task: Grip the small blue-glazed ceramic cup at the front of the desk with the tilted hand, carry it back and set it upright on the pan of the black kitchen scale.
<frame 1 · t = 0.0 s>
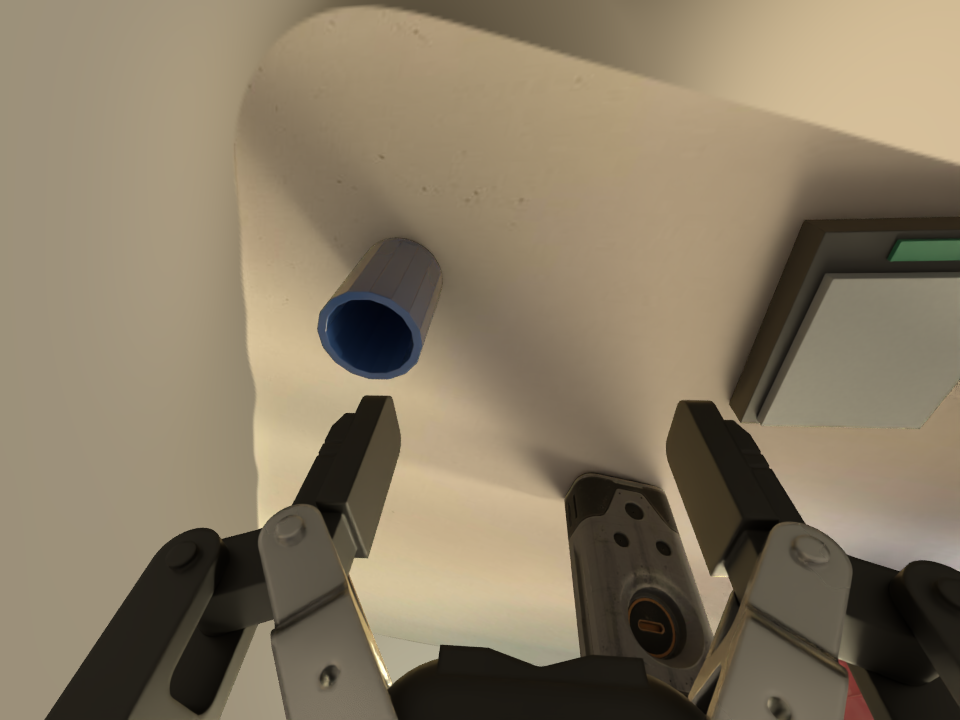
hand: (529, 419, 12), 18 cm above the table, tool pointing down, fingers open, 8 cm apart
cup: (402, 277, 29), on the table
electronic device: (613, 493, 42), on the table
flower pot: (837, 621, 54), on the table
kitchen scale: (858, 325, 29), on the table
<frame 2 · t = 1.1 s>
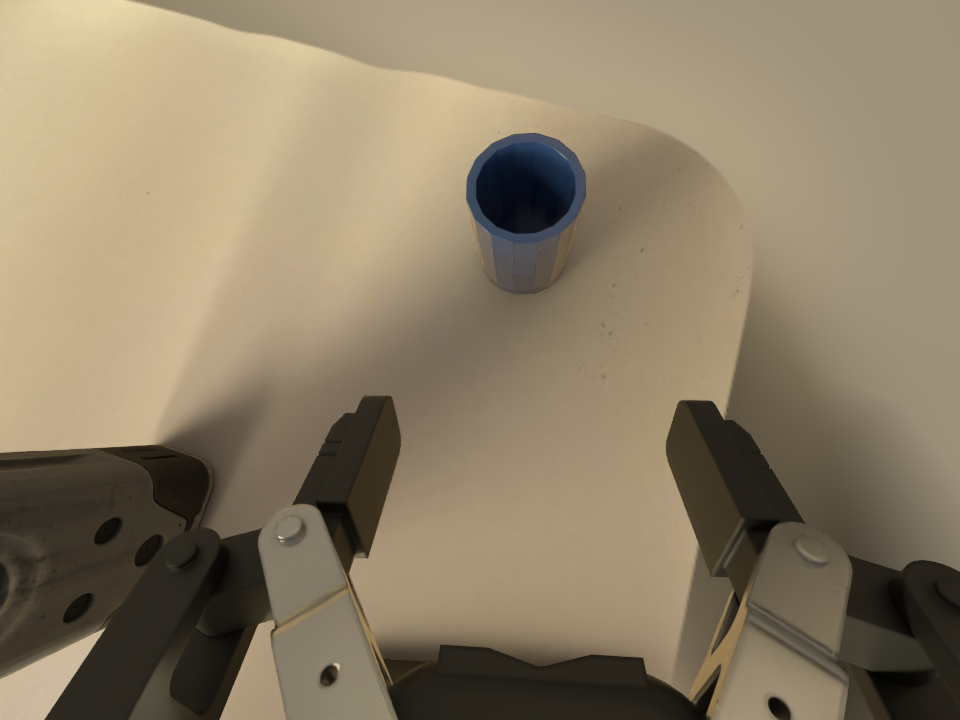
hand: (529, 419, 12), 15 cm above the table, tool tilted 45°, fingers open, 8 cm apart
cup: (523, 253, 28), on the table
electronic device: (163, 518, 28), on the table
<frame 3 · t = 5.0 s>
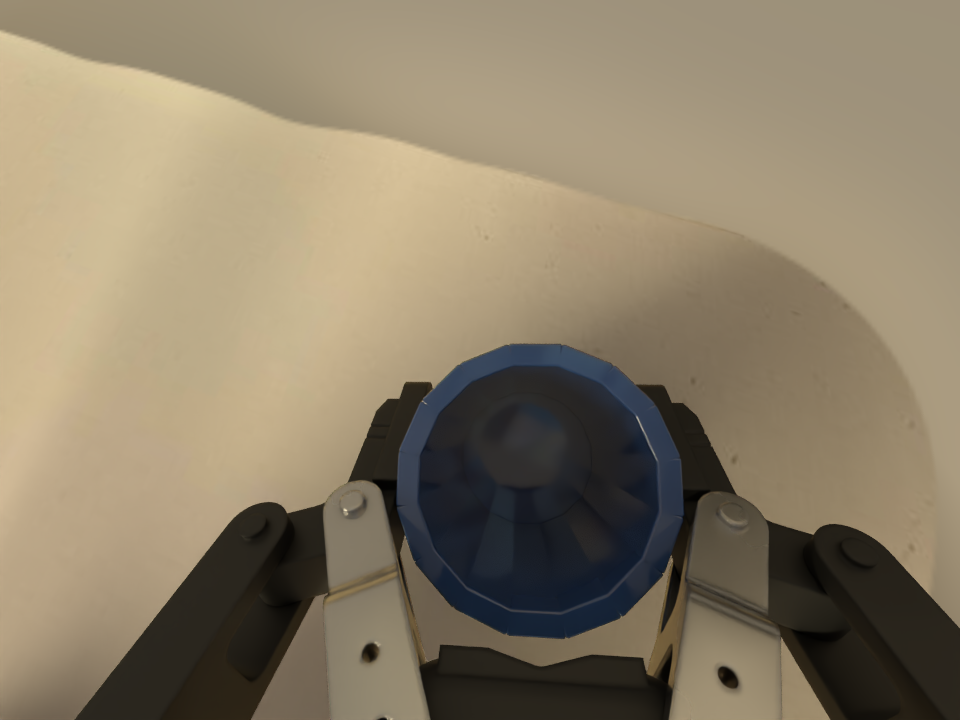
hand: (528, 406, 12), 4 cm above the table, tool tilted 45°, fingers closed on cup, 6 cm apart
cup: (526, 455, 16), on the table, touching gripper
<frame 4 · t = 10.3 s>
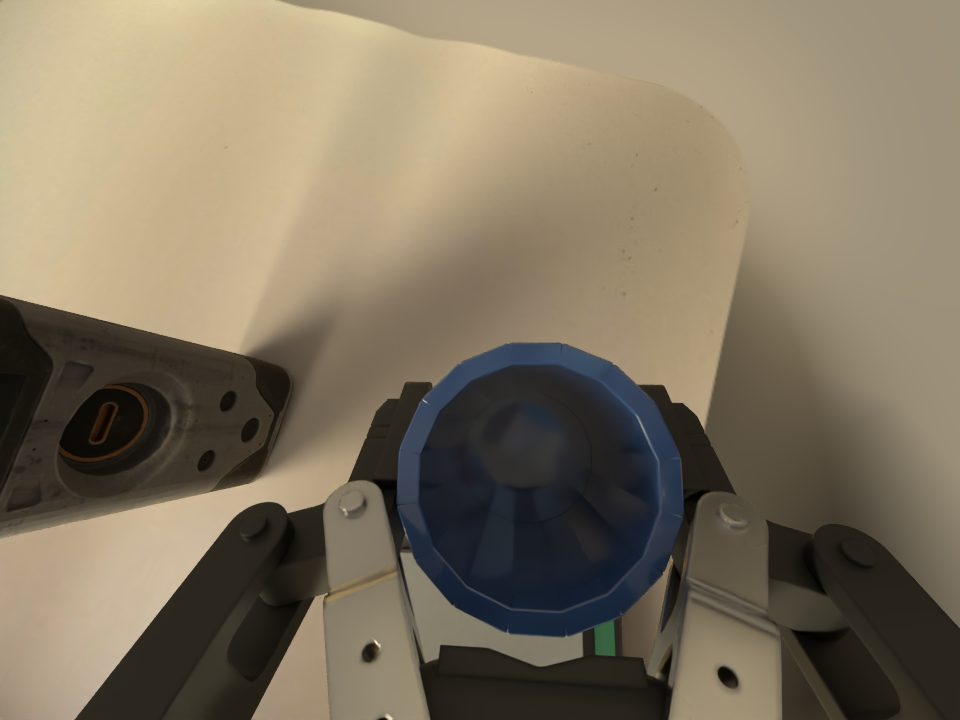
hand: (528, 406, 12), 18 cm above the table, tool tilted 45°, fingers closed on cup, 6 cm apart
cup: (526, 454, 16), point 14 cm above the table, touching gripper
electronic device: (248, 418, 33), on the table
kitchen scale: (502, 627, 28), on the table
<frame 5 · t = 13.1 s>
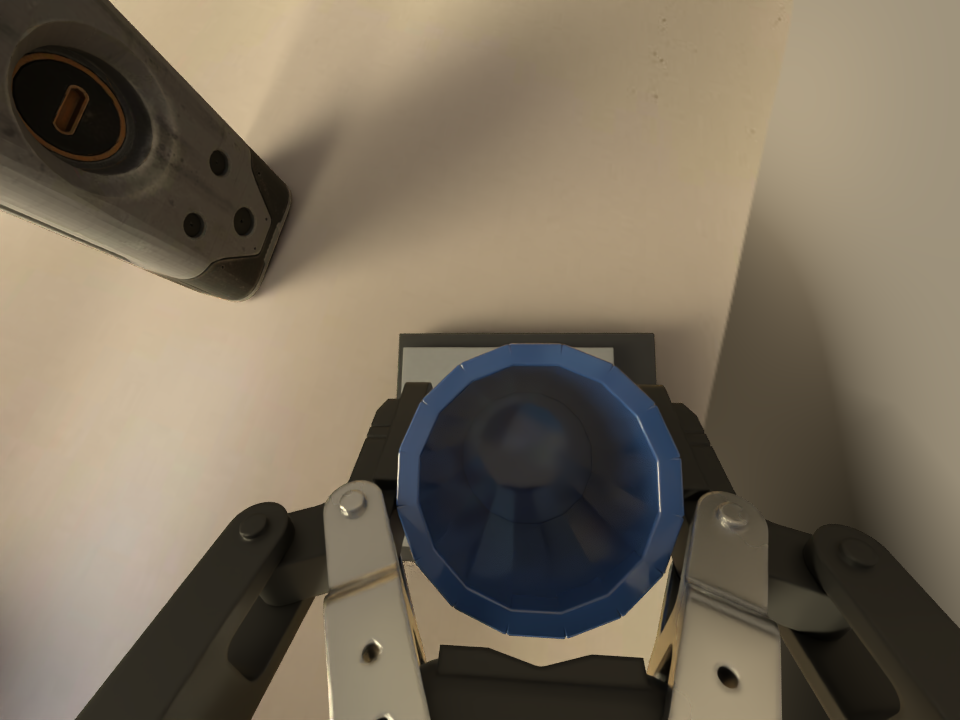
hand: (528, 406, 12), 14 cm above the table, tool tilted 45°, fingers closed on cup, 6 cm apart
cup: (526, 455, 16), point 10 cm above the table, touching gripper
electronic device: (243, 238, 30), on the table
kitchen scale: (522, 443, 26), on the table
when the fingers open (7 cm above the table, at t = 15.5 s): cup stays where it is, resting on kitchen scale.
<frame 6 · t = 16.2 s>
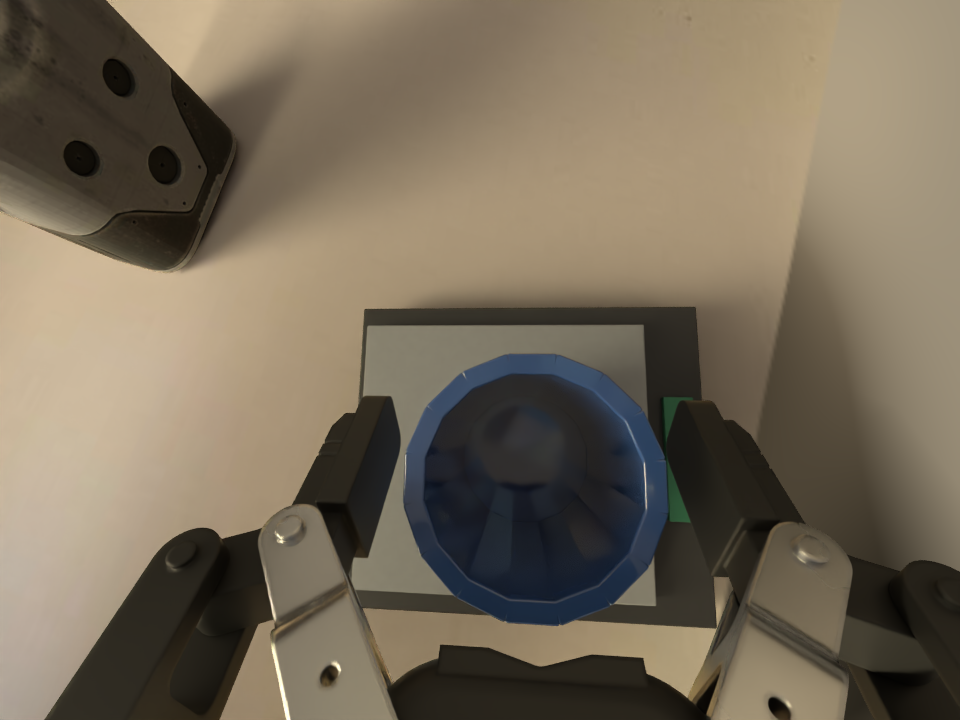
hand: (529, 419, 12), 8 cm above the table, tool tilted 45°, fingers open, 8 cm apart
cup: (524, 456, 17), point 3 cm above the table, touching kitchen scale
electronic device: (178, 196, 24), on the table
kitchen scale: (523, 450, 20), on the table
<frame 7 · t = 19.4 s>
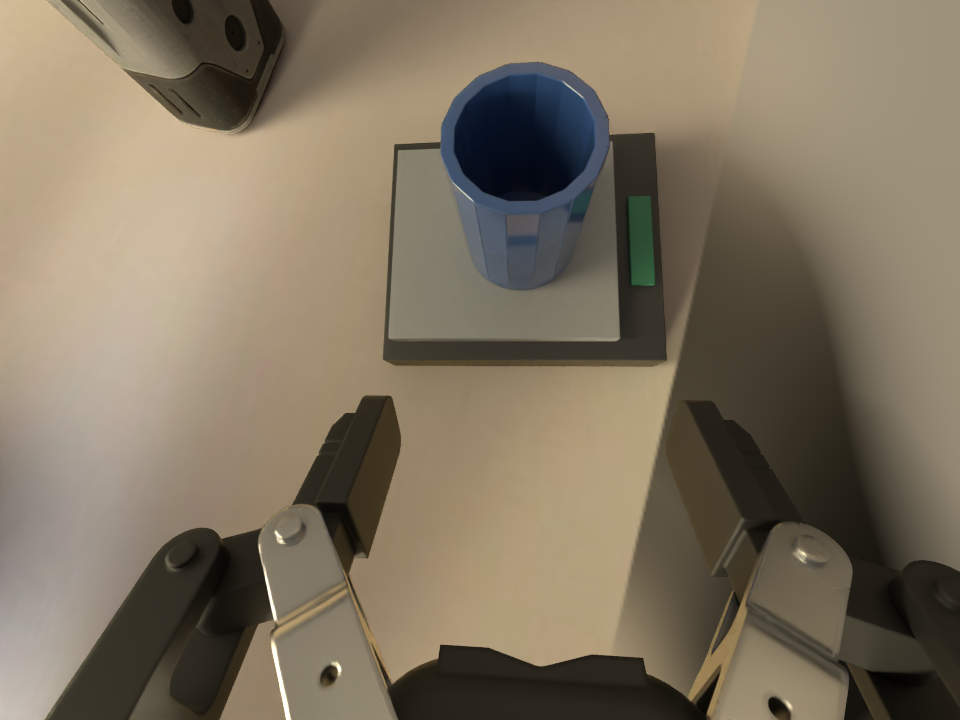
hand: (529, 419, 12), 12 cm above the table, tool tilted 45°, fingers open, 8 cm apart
cup: (520, 238, 22), point 3 cm above the table, touching kitchen scale
electronic device: (236, 77, 29), on the table
kitchen scale: (520, 259, 25), on the table
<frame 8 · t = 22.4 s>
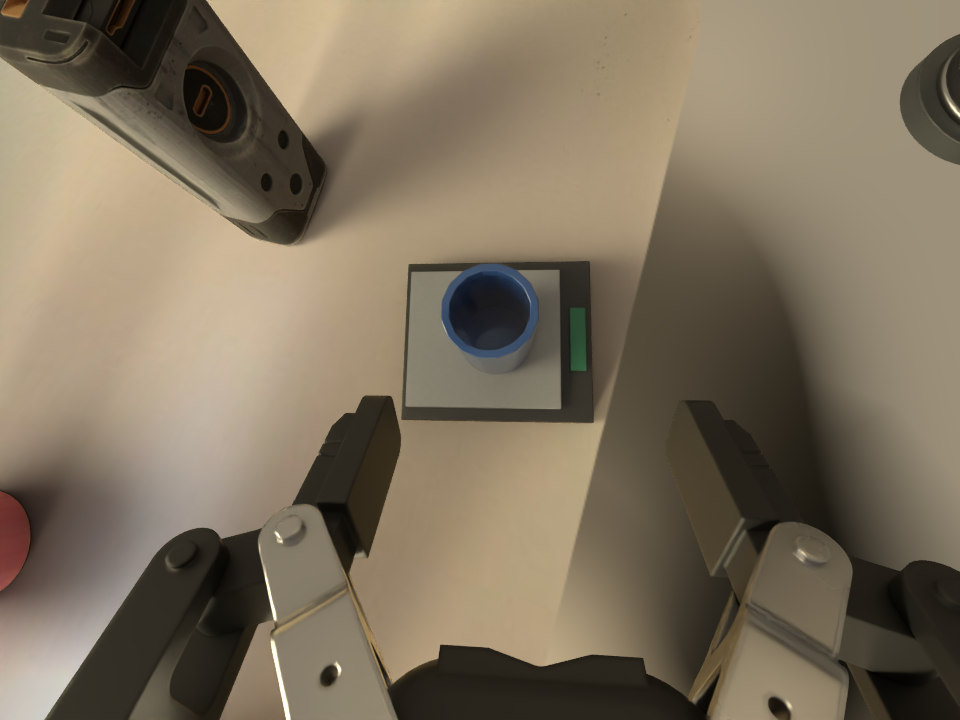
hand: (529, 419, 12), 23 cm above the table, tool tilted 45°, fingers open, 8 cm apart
cup: (495, 338, 32), point 3 cm above the table, touching kitchen scale
electronic device: (290, 201, 40), on the table
kitchen scale: (497, 344, 35), on the table
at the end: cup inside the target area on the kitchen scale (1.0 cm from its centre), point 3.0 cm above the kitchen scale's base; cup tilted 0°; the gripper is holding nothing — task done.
